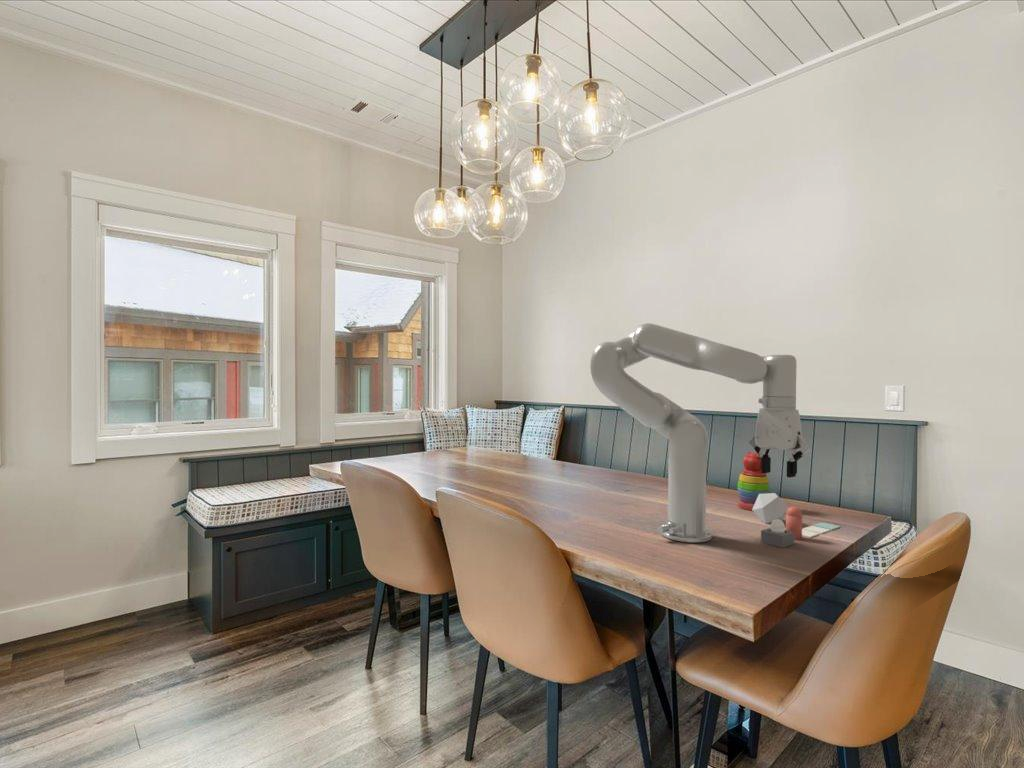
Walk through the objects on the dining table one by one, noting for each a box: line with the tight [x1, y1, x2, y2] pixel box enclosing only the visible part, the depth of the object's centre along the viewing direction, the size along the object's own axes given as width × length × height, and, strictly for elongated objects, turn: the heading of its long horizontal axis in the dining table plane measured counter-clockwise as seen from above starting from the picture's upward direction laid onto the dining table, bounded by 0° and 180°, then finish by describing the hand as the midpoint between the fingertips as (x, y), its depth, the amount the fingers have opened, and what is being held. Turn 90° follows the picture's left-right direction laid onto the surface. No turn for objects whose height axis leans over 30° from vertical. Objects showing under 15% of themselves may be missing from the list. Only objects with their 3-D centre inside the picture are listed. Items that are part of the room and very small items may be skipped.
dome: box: [770, 519, 786, 534], centre depth 139 cm, size 3×3×4 cm
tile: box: [812, 521, 841, 531], centre depth 154 cm, size 5×5×1 cm
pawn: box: [785, 506, 803, 541], centre depth 143 cm, size 4×4×8 cm
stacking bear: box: [737, 451, 770, 511], centre depth 175 cm, size 11×10×18 cm
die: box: [751, 492, 790, 525], centre depth 159 cm, size 8×9×10 cm
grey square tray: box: [760, 527, 795, 549], centre depth 139 cm, size 6×6×3 cm
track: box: [802, 525, 831, 538], centre depth 149 cm, size 11×5×1 cm, turn 126°
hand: (778, 474), depth 138 cm, fingers open, 5 cm apart
